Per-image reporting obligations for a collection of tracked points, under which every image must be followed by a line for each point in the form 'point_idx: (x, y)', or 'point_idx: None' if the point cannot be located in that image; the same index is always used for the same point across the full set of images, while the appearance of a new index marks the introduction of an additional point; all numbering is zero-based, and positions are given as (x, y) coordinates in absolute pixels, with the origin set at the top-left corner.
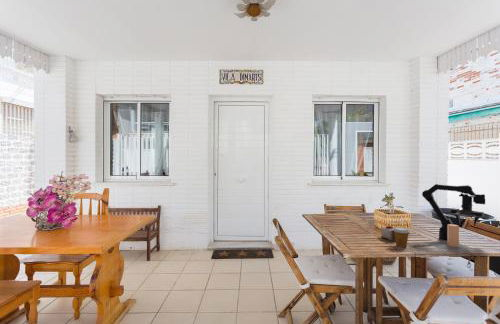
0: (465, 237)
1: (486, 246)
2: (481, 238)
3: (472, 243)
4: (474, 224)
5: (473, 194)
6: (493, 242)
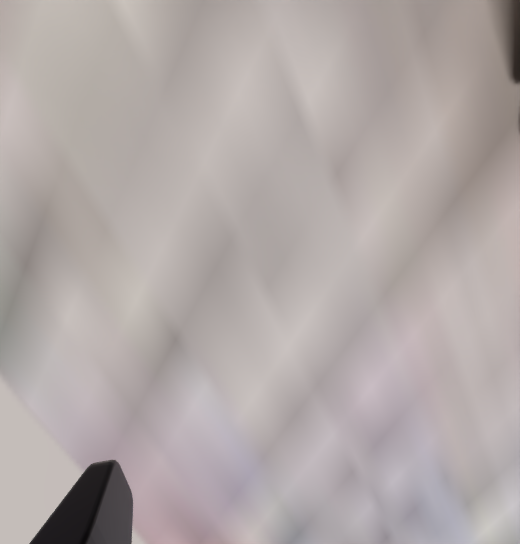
0: (415, 444)
1: (17, 242)
2: (286, 535)
3: (219, 231)
4: (80, 514)
5: None
6: None
